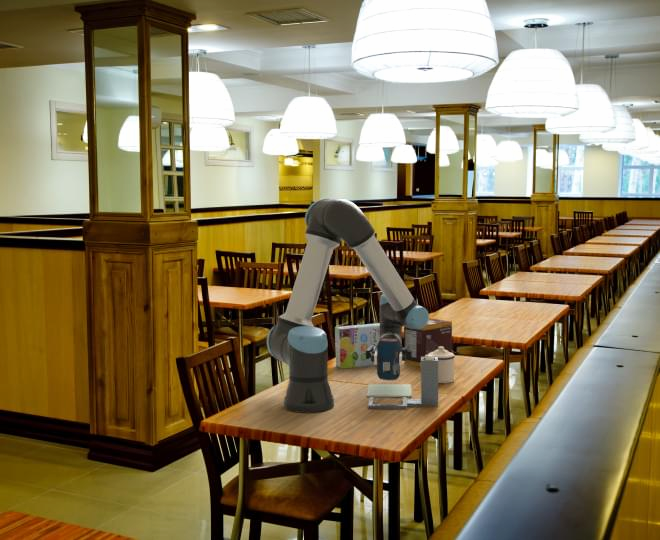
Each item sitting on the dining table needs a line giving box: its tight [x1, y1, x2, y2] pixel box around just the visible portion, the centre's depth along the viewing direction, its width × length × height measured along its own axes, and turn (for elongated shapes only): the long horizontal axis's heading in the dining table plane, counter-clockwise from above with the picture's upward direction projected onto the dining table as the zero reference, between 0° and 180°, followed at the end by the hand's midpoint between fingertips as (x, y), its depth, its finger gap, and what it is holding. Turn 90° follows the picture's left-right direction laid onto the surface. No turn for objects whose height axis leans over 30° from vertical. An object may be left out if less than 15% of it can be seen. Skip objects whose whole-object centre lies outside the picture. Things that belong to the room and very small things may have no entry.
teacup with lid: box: [420, 346, 455, 384], centre depth 258 cm, size 12×9×12 cm
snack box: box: [334, 322, 380, 370], centre depth 282 cm, size 21×6×15 cm, turn 108°
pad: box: [365, 383, 412, 399], centre depth 245 cm, size 14×14×1 cm
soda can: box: [376, 338, 401, 382], centre depth 230 cm, size 7×7×12 cm
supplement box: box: [403, 317, 453, 368], centre depth 284 cm, size 10×15×16 cm
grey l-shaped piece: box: [367, 357, 439, 410], centre depth 229 cm, size 9×21×14 cm, turn 84°
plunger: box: [425, 355, 434, 360], centre depth 229 cm, size 3×3×6 cm
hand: (387, 360), depth 225 cm, fingers closed on soda can, 7 cm apart
